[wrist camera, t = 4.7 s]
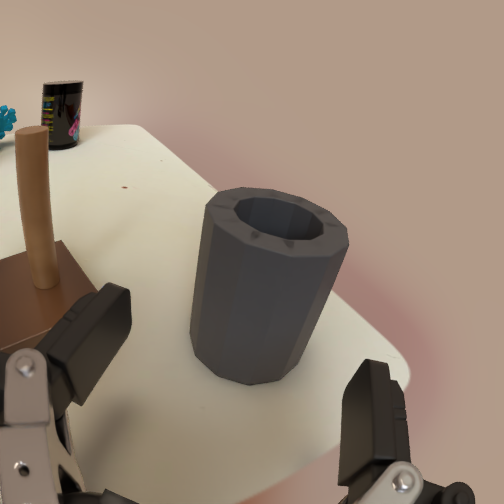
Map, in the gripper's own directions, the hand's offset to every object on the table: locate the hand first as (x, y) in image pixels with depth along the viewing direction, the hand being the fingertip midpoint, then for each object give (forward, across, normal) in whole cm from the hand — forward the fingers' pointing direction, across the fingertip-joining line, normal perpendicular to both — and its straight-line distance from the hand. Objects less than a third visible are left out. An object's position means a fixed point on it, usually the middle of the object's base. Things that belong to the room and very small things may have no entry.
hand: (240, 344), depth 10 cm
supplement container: (+32, +37, +6) cm, 49 cm away
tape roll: (+6, 0, +6) cm, 9 cm away
